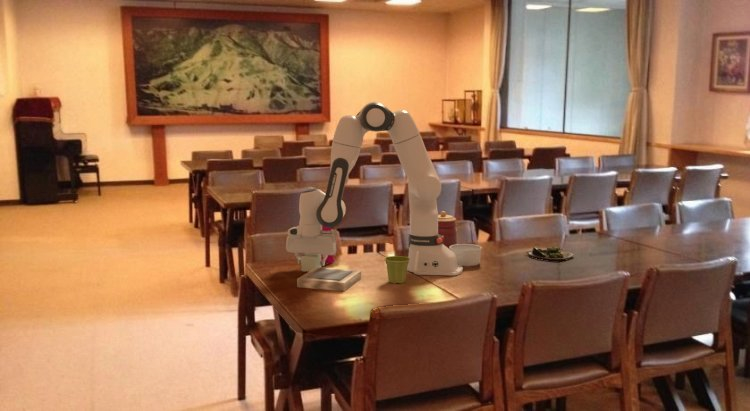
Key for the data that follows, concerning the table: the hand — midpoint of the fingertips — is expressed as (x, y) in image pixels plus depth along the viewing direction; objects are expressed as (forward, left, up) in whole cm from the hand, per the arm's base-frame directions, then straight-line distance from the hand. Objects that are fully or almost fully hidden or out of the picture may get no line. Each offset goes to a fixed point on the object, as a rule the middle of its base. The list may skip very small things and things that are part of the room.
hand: (311, 264), depth 266 cm
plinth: (-14, +16, -2) cm, 21 cm away
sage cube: (0, 0, -2) cm, 2 cm away
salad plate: (-88, -51, -3) cm, 102 cm away
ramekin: (-56, -29, -2) cm, 63 cm away
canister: (-42, -51, -2) cm, 66 cm away
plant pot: (-37, +7, -2) cm, 38 cm away
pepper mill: (-1, -14, -2) cm, 14 cm away
